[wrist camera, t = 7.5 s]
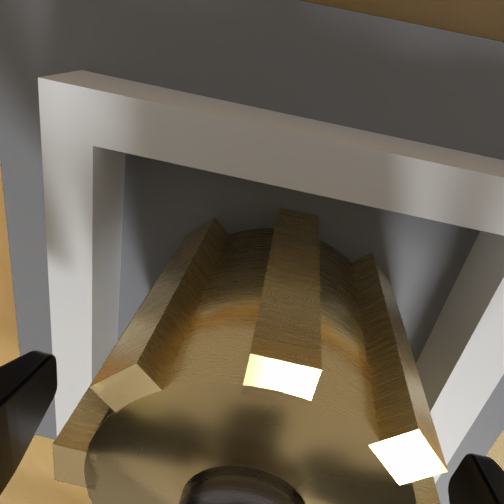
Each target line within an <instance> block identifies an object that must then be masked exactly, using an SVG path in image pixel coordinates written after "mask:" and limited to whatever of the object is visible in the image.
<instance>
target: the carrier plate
mask: <svg viewBox="0 0 504 504" xmlns="http://www.w3.org/2000/svg"><path fill="white" fill-rule="evenodd" d="M0 161H1V171H2V181H3V191H4V201H5V211H6V221H7V231H8V241H9V251H10V261H11V271H12V281H13V291H14V301H15V310H16V320H17V330H18V340H19V350H20V356H22V355H24V354H26V353H28V352H30V351H34V350H37V351H42V352H46V353H50V354H53V355H54V356H55V357H56V362H57V391H56V394H55V396H54V398H53V400H52V402H51V404H50V406H49V408H48V410H47V412H46V414H45V416H44V418H43V420H42V422H41V423H40V425H39V427H38V429H37V431H36V433H35V435H38V436H42V437H46V438H51V439H56V438H57V436H58V435H59V433H60V432H61V430H62V428H63V427H64V425H65V424H66V422H67V421H68V419H69V417H70V416H71V414H72V413H73V411H74V410H75V408H76V406H77V405H78V403H79V402H80V400H81V399H82V397H83V395H84V394H85V392H86V391H87V389H88V387H89V386H90V384H91V383H92V381H93V380H94V378H95V376H96V375H97V373H98V372H99V370H100V369H101V367H102V365H103V364H104V362H105V361H106V359H107V358H108V356H109V354H110V353H111V351H112V350H113V348H114V347H115V345H116V343H117V342H118V340H119V339H120V337H121V335H122V334H123V332H124V331H125V329H126V328H127V326H128V324H129V323H130V321H131V320H132V318H133V317H134V315H135V313H136V312H137V310H138V309H139V307H140V306H141V304H142V302H143V301H144V299H145V298H146V296H147V295H148V293H149V291H150V290H151V288H152V287H153V285H154V284H155V282H156V280H157V279H158V278H159V277H160V275H161V273H162V272H163V270H164V269H165V267H166V265H167V264H168V262H169V261H170V259H171V258H172V256H173V254H174V253H175V251H176V250H177V248H178V247H179V245H180V243H181V242H182V240H183V239H184V237H185V235H187V234H189V233H190V232H192V231H193V230H195V229H197V228H198V227H200V226H201V225H203V224H205V223H206V222H208V221H210V220H211V219H213V218H214V217H215V218H216V219H217V221H218V222H219V223H220V225H221V226H222V227H223V229H224V230H225V231H226V233H227V234H228V235H230V234H233V233H236V232H240V231H245V230H249V229H260V228H275V225H276V220H277V216H278V212H279V207H282V208H286V209H291V210H295V211H300V212H305V213H309V214H314V215H318V216H319V240H321V241H323V242H325V243H327V244H328V245H330V246H332V247H334V248H335V249H336V250H338V251H339V252H340V253H342V254H343V255H344V256H345V257H346V258H347V259H348V260H349V261H350V262H353V261H355V260H357V259H359V258H361V257H363V256H365V255H367V254H369V253H371V252H373V254H374V255H375V257H376V259H377V260H378V262H379V263H380V265H381V267H382V268H383V270H384V272H385V273H386V275H387V276H388V278H389V280H390V281H391V285H392V288H393V291H394V294H395V298H396V301H397V304H398V308H399V311H400V314H401V318H402V321H403V324H404V327H405V331H406V334H407V337H408V341H409V344H410V347H411V351H412V354H413V357H414V360H415V364H416V367H417V370H418V374H419V377H420V380H421V384H422V387H423V390H424V393H425V397H426V400H427V403H428V407H429V410H430V413H431V417H432V420H433V423H434V426H435V430H436V433H437V436H438V440H439V443H440V446H441V450H442V453H443V456H444V459H445V463H446V466H447V469H448V472H445V473H441V474H438V475H434V476H433V477H434V481H435V485H436V488H437V492H438V496H439V500H440V503H441V504H449V495H448V485H449V481H450V478H451V476H452V475H453V473H454V472H455V470H456V469H457V467H458V465H459V464H460V462H461V461H462V459H463V458H464V456H465V455H467V454H469V453H474V454H478V455H482V456H486V454H487V453H488V451H489V450H490V448H491V447H492V445H493V444H494V443H495V441H496V440H497V438H498V437H499V435H500V434H501V432H502V431H503V429H504V42H501V41H496V40H491V39H487V38H482V37H477V36H472V35H467V34H462V33H457V32H452V31H448V30H443V29H438V28H433V27H428V26H423V25H418V24H414V23H409V22H404V21H399V20H394V19H389V18H384V17H379V16H375V15H370V14H365V13H360V12H355V11H350V10H345V9H340V8H336V7H331V6H326V5H321V4H316V3H311V2H306V1H301V0H0Z"/></svg>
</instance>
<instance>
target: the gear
mask: <svg viewBox="0 0 504 504" xmlns="http://www.w3.org/2000/svg"><path fill="white" fill-rule="evenodd" d="M52 445H53V460H54V476H55V480H57V481H61V482H65V483H69V484H73V485H77V486H81V487H85V488H87V491H88V494H89V497H90V499H91V501H92V503H93V504H441V503H440V500H439V496H438V492H437V488H436V485H435V481H434V477H433V476H434V475H438V474H441V473H445V472H448V469H447V466H446V463H445V459H444V456H443V453H442V450H441V446H440V443H439V440H438V436H437V433H436V430H435V426H434V423H433V420H432V417H431V413H430V410H429V407H428V403H427V400H426V397H425V393H424V390H423V387H422V384H421V380H420V377H419V374H418V370H417V367H416V364H415V360H414V357H413V354H412V351H411V347H410V344H409V341H408V337H407V334H406V331H405V327H404V324H403V321H402V318H401V314H400V311H399V308H398V304H397V301H396V298H395V294H394V291H393V288H392V285H391V281H390V280H389V278H388V276H387V275H386V273H385V272H384V270H383V268H382V267H381V265H380V263H379V262H378V260H377V259H376V257H375V255H374V254H373V252H371V253H369V254H367V255H365V256H363V257H361V258H359V259H357V260H355V261H353V262H350V261H349V260H348V259H347V258H346V257H345V256H344V255H343V254H342V253H340V252H339V251H338V250H336V249H335V248H334V247H332V246H330V245H328V244H327V243H325V242H323V241H321V240H319V216H318V215H314V214H309V213H305V212H300V211H295V210H291V209H286V208H282V207H279V212H278V216H277V220H276V225H275V228H260V229H249V230H245V231H240V232H236V233H233V234H230V235H228V234H227V233H226V231H225V230H224V229H223V227H222V226H221V225H220V223H219V222H218V221H217V219H216V218H215V217H214V218H213V219H211V220H210V221H208V222H206V223H205V224H203V225H201V226H200V227H198V228H197V229H195V230H193V231H192V232H190V233H189V234H187V235H185V237H184V239H183V240H182V242H181V243H180V245H179V247H178V248H177V250H176V251H175V253H174V254H173V256H172V258H171V259H170V261H169V262H168V264H167V265H166V267H165V269H164V270H163V272H162V273H161V275H160V277H159V278H158V279H157V280H156V282H155V284H154V285H153V287H152V288H151V290H150V291H149V293H148V295H147V296H146V298H145V299H144V301H143V302H142V304H141V306H140V307H139V309H138V310H137V312H136V313H135V315H134V317H133V318H132V320H131V321H130V323H129V324H128V326H127V328H126V329H125V331H124V332H123V334H122V335H121V337H120V339H119V340H118V342H117V343H116V345H115V347H114V348H113V350H112V351H111V353H110V354H109V356H108V358H107V359H106V361H105V362H104V364H103V365H102V367H101V369H100V370H99V372H98V373H97V375H96V376H95V378H94V380H93V381H92V383H91V384H90V386H89V387H88V389H87V391H86V392H85V394H84V395H83V397H82V399H81V400H80V402H79V403H78V405H77V406H76V408H75V410H74V411H73V413H72V414H71V416H70V417H69V419H68V421H67V422H66V424H65V425H64V427H63V428H62V430H61V432H60V433H59V435H58V436H57V438H56V439H55V441H54V443H53V444H52Z"/></svg>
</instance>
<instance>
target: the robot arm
mask: <svg viewBox="0 0 504 504" xmlns="http://www.w3.org/2000/svg"><path fill="white" fill-rule="evenodd" d="M56 391H57V362H56V357H55V356H54V355H53V354H50V353H46V352H42V351H37V350H34V351H30V352H28V353H26V354H24V355H22V356H20V357H18V358H16V359H14V360H12V361H10V362H9V363H7V364H5V365H3V366H1V367H0V495H1V493H2V492H3V490H4V489H5V487H6V486H7V484H8V482H9V481H10V479H11V478H12V476H13V474H14V473H15V471H16V469H17V467H18V465H19V464H20V462H21V460H22V458H23V456H24V454H25V452H26V450H27V448H28V447H29V445H30V443H31V441H32V439H33V437H34V435H35V433H36V431H37V429H38V427H39V425H40V423H41V422H42V420H43V418H44V416H45V414H46V412H47V410H48V408H49V406H50V404H51V402H52V400H53V398H54V396H55V394H56ZM448 495H449V504H504V471H503V470H502V469H501V467H500V466H499V465H498V464H497V463H496V462H495V461H494V460H493V459H491V458H489V457H486V456H482V455H478V454H474V453H469V454H467V455H465V456H464V458H463V459H462V461H461V462H460V464H459V465H458V467H457V469H456V470H455V472H454V473H453V475H452V476H451V478H450V481H449V485H448Z"/></svg>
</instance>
